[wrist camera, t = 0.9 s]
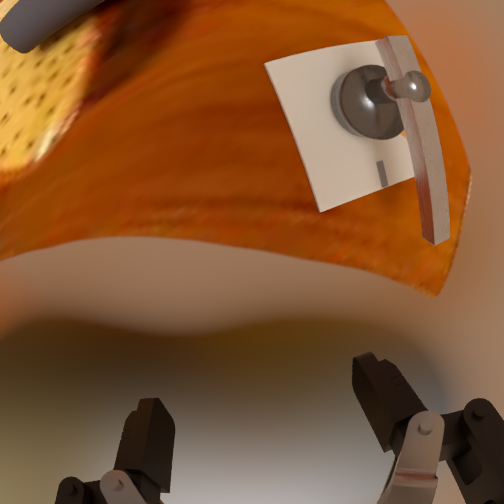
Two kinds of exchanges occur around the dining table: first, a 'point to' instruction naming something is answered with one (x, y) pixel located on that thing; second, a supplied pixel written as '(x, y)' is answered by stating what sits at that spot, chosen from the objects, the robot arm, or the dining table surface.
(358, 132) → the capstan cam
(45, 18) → the bluetooth speaker
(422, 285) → the dining table surface
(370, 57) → the board
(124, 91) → the dining table surface
